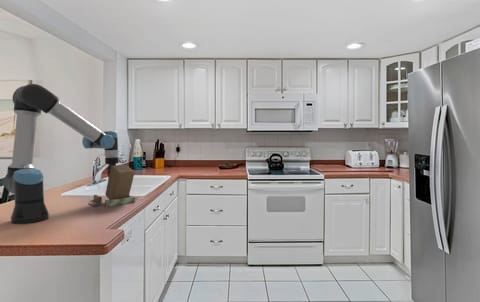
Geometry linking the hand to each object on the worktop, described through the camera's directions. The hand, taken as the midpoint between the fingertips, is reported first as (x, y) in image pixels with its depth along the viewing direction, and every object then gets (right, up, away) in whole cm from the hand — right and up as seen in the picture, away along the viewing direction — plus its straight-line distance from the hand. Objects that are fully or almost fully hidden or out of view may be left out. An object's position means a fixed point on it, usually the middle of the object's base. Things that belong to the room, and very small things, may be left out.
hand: (113, 196), depth 204 cm
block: (+3, -1, -4) cm, 6 cm away
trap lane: (+1, -3, -2) cm, 3 cm away
